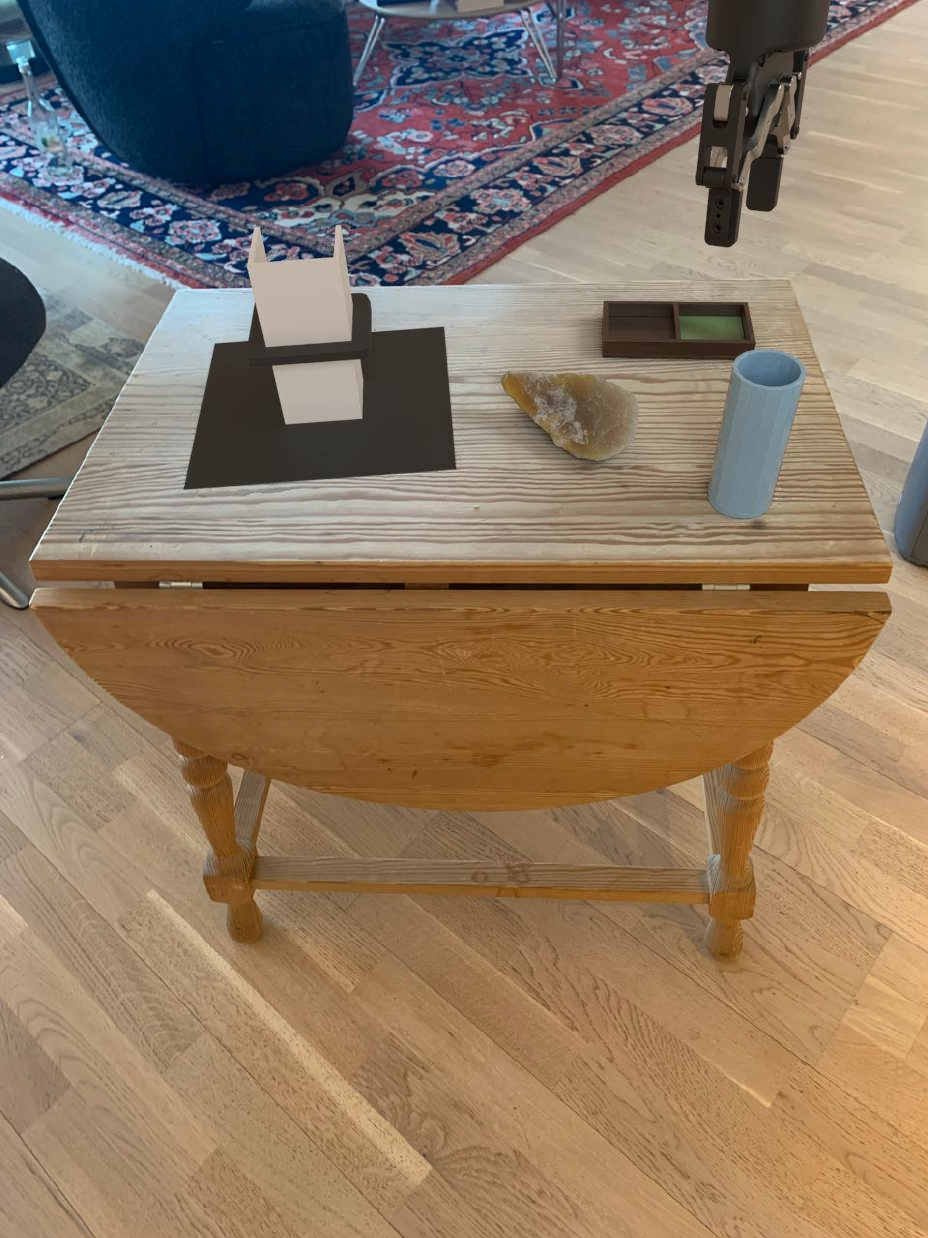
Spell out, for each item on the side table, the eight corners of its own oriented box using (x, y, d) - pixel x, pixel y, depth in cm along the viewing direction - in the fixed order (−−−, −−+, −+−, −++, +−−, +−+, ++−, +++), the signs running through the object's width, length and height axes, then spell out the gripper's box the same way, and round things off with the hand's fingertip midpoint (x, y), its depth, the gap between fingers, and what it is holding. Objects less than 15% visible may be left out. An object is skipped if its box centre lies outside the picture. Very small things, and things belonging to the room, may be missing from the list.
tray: (602, 317, 100) (603, 300, 99) (744, 318, 99) (748, 301, 97) (602, 357, 95) (603, 340, 94) (752, 360, 94) (756, 342, 92)
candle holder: (444, 326, 101) (433, 172, 88) (456, 469, 85) (445, 305, 72) (214, 343, 101) (172, 191, 88) (183, 489, 84) (126, 328, 72)
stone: (634, 411, 78) (487, 352, 84) (615, 478, 82) (475, 417, 87) (667, 390, 83) (526, 335, 89) (647, 453, 87) (513, 397, 93)
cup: (750, 471, 82) (781, 342, 73) (783, 509, 79) (820, 379, 69) (695, 486, 81) (720, 357, 72) (727, 525, 78) (756, 395, 68)
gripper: (799, -29, 51) (758, 265, 62) (866, -58, 60) (821, 203, 71) (672, -27, 55) (654, 251, 65) (753, -56, 64) (726, 194, 74)
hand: (741, 226), depth 68 cm, fingers open, 8 cm apart
